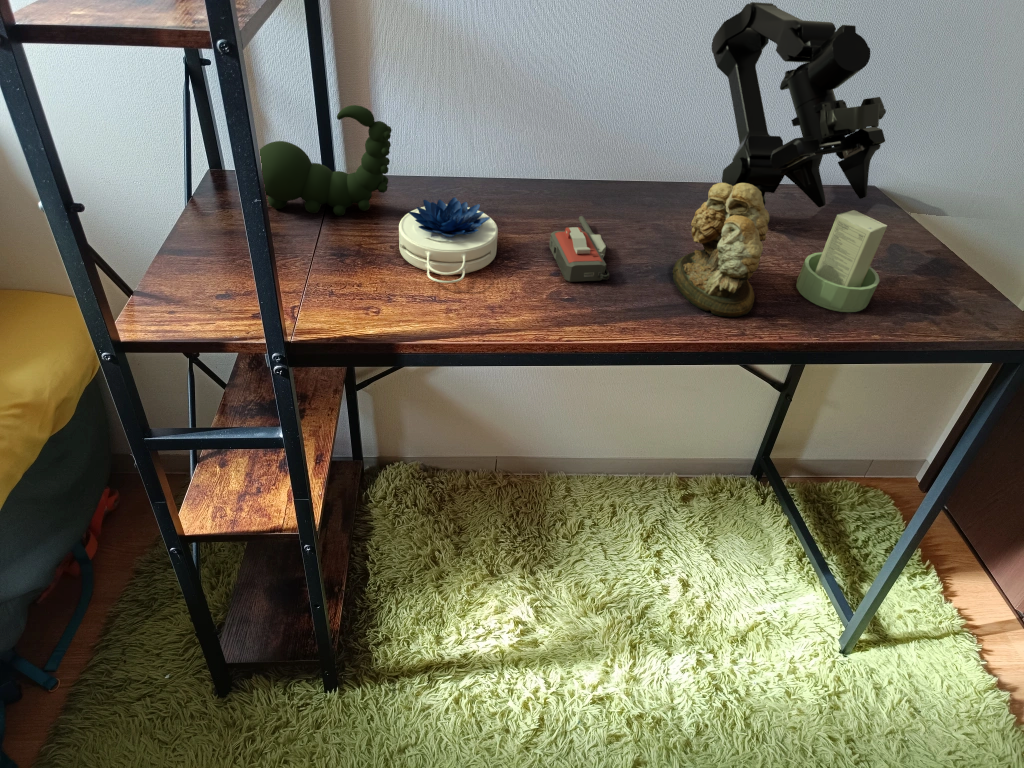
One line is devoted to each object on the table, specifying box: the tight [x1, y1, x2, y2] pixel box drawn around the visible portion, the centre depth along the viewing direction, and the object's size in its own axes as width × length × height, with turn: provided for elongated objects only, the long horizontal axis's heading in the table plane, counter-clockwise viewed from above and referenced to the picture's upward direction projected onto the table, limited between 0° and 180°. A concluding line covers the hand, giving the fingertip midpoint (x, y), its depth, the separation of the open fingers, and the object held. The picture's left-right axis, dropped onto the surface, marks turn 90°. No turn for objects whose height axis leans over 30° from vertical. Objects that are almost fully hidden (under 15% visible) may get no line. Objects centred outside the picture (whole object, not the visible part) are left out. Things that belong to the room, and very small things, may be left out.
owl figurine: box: [672, 182, 770, 318], centre depth 104 cm, size 18×12×17 cm, turn 11°
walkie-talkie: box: [549, 215, 610, 283], centre depth 113 cm, size 9×4×20 cm
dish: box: [795, 251, 880, 313], centre depth 110 cm, size 11×11×4 cm
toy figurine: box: [259, 104, 393, 217], centre depth 114 cm, size 9×19×25 cm
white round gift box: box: [398, 197, 499, 284], centre depth 108 cm, size 7×16×20 cm
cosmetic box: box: [815, 209, 888, 288], centre depth 107 cm, size 6×4×12 cm
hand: (843, 202), depth 106 cm, fingers open, 9 cm apart
